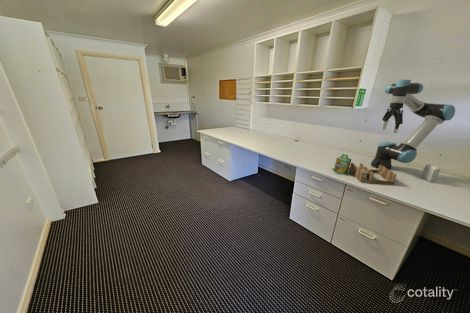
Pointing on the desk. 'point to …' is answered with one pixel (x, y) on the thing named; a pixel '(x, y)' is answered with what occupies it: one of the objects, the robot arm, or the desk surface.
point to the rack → (381, 171)
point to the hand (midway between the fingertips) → (388, 131)
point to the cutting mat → (341, 173)
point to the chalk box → (342, 164)
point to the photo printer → (430, 173)
